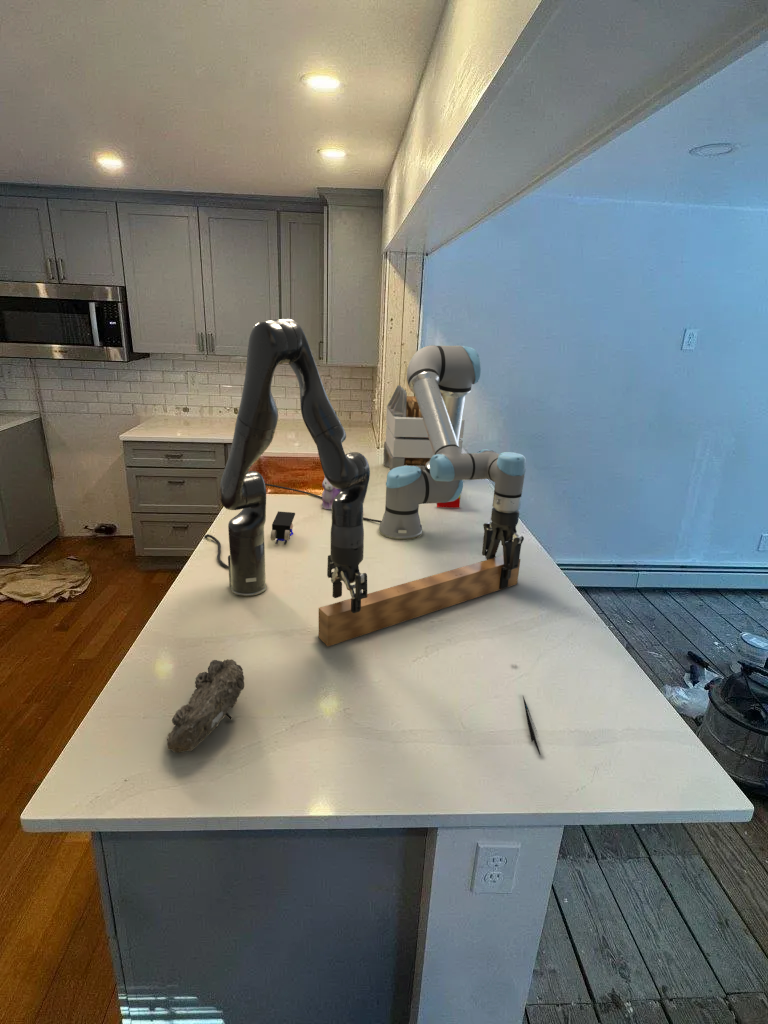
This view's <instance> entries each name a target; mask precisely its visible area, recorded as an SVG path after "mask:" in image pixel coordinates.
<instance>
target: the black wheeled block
mask: <svg viewBox="0 0 768 1024" xmlns="http://www.w3.org/2000/svg"><path fill="white" fill-rule="evenodd" d="M295 516H296V512H291V511H279V510H278V511H277V513H276V514H275V517H274V519H273V521H272V524H271V530H270V541H275V545H278V544H279V541H280V542H283V545H284V546H286V545H287V542H288V541H290V540H291V537H292V536H293V535H294V532H293V528H294V525H293V522H294V520H295V519H294V518H295Z"/></svg>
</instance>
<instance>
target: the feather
mask: <svg viewBox="0 0 768 1024" xmlns="http://www.w3.org/2000/svg"><path fill="white" fill-rule="evenodd" d="M513 666H514V667H515V666H516V665H515V664H514V665H513ZM522 699H523V706H524V711H525V717H526V722H527V726H528V732H529V737H530V739H531V741H530V742H531V743H533V742H534V746H535V747H536V750H537V752H538V754H539V755H541V752H540V749H539V745H538V742H537V741H538V740H537V739H536V738H537V737H536V736H538V731H537V728H536V725H535V722H534V720H533V717H532V716H531V713H530V709H529V707H528V704H527V702H526V698H525V697H524V696H522ZM534 731H535V732H534Z"/></svg>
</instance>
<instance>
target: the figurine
mask: <svg viewBox="0 0 768 1024" xmlns="http://www.w3.org/2000/svg"><path fill="white" fill-rule="evenodd" d="M321 484H322V485H321V486H322V488H323V491H322V493H321V497H322V503H321V507H322V509H325V510H332V502H333V500H334V498H335V497H336V496H337V495H338V494H339V492H340V489H337V488H335V487H333V486H332V485H331V484H330V483H329V482H328V480H327V479H326V477H325V476H324V479H323V481H322V483H321Z"/></svg>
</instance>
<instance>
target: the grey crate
mask: <svg viewBox="0 0 768 1024" xmlns="http://www.w3.org/2000/svg"><path fill="white" fill-rule="evenodd" d="M407 394H408V393H407V390H406V389H404V388H403V387H402V385H399V384H398V385H397V386H396V388H395V390H394V392H393V394H392V395H391V398H390V400H389V402H388V404H387V405H386V413H385V414H386V415H385V423H386V428H385V438H384V442H383V466H384V467H388V468H389V471H390V470H392V469H393V468H396V467H400V466H416V467H426V463H427V462H428V461H430V460H431V454H432V446H431V443H430V440H429V437H428V434H427V431H426V428H425V425H424V421H423V418H422V415H421V412H420V409H419V406H418V403H417V400H416V396H415V395H414V396H413V395H412V396H411V395H407ZM464 429H465V419H464V418H462V422H461V428H460V435H459V442H458V445H459V448H460V450H461V453H463V442H464V441H463V440H462V439H463V438H464V431H465V430H464Z"/></svg>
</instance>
